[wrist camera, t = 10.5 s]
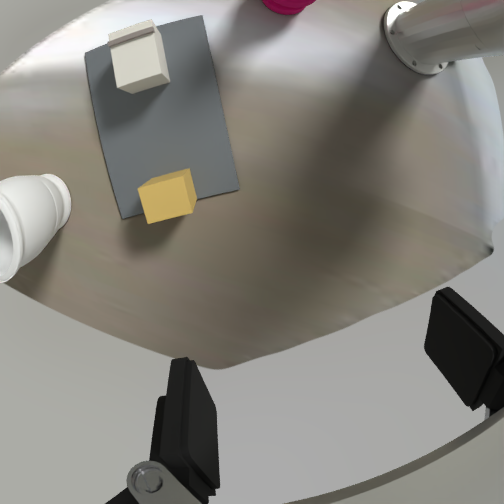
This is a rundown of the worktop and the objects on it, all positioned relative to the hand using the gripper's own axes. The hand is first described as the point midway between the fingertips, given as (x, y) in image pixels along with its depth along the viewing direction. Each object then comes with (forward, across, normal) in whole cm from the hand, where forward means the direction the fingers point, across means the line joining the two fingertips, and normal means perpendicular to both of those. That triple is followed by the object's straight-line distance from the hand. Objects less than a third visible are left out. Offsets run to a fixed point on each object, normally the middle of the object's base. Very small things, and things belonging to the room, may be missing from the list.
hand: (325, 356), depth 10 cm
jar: (+31, +28, -6) cm, 42 cm away
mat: (+30, +9, -12) cm, 34 cm away
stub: (+30, +9, -3) cm, 31 cm away
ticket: (+30, +9, -20) cm, 37 cm away
